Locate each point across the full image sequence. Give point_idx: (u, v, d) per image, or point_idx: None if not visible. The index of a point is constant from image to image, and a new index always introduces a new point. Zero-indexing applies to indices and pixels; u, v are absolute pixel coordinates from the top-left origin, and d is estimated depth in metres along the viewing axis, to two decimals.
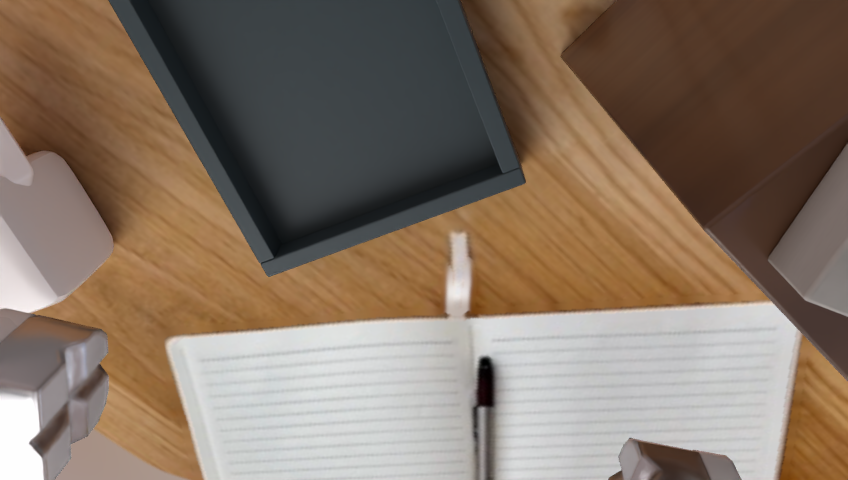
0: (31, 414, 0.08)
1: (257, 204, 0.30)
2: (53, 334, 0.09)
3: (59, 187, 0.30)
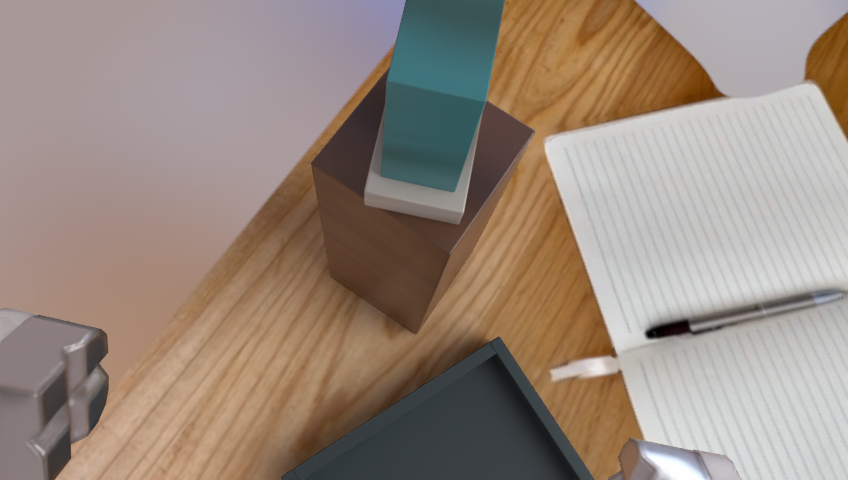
0: (31, 414, 0.08)
1: None
2: (53, 334, 0.09)
3: None
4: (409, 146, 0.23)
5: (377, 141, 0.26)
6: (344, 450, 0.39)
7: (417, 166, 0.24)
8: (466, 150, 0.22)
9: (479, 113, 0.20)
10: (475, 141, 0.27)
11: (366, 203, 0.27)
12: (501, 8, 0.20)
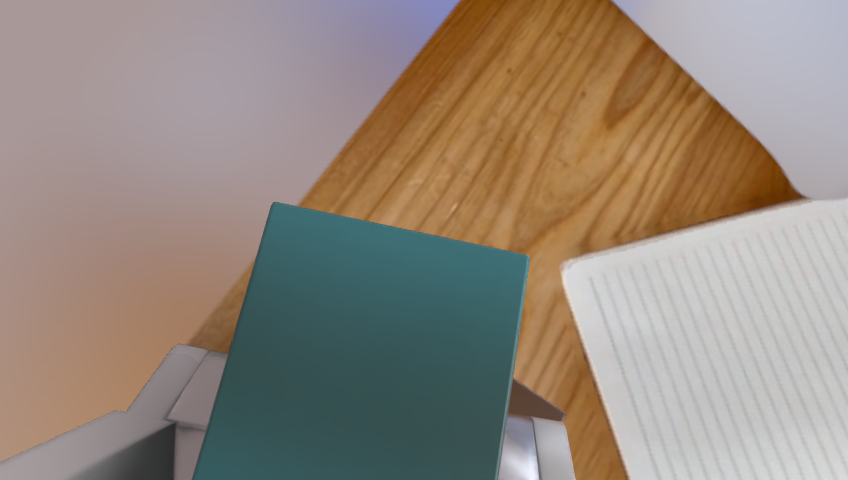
0: None
1: None
2: None
3: None
4: None
5: None
6: None
7: None
8: None
9: None
10: None
11: None
12: (504, 398, 0.07)
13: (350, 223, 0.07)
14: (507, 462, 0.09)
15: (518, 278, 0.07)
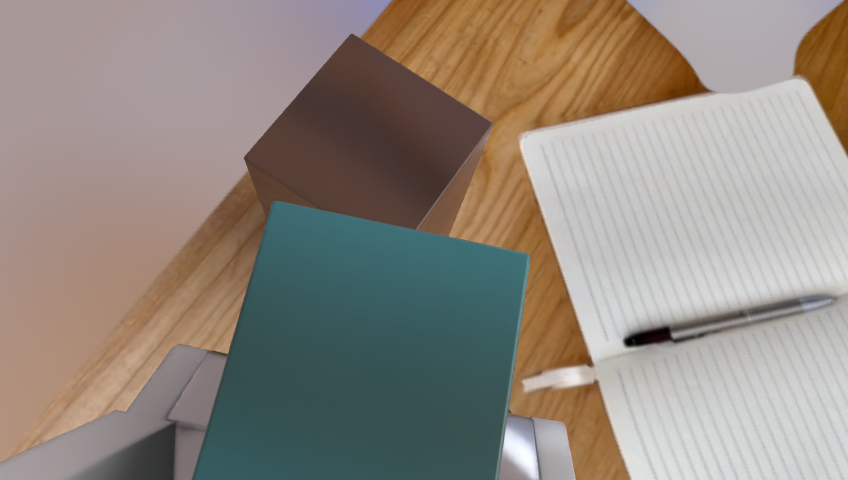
0: None
1: None
2: None
3: None
4: None
5: None
6: None
7: None
8: None
9: None
10: None
11: None
12: (505, 396, 0.07)
13: (350, 222, 0.07)
14: (508, 462, 0.09)
15: (519, 277, 0.07)
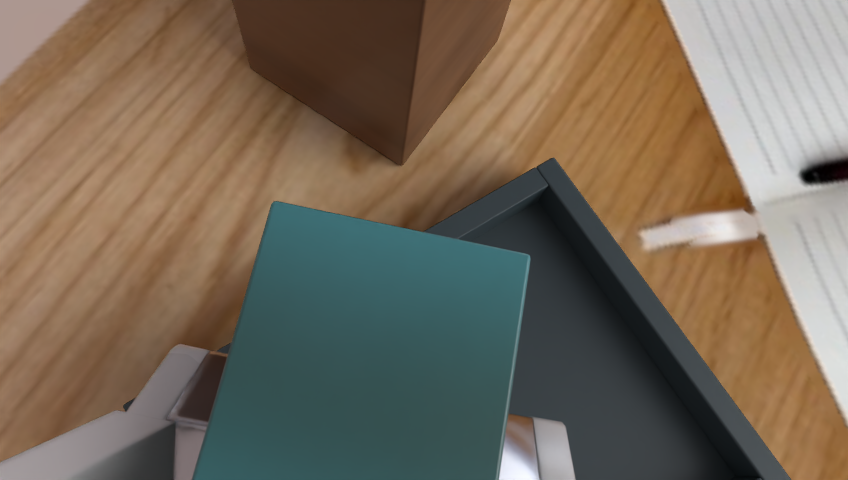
0: None
1: None
2: None
3: None
4: None
5: None
6: None
7: None
8: None
9: None
10: None
11: None
12: (505, 397, 0.07)
13: (350, 222, 0.07)
14: (507, 462, 0.09)
15: (519, 277, 0.07)
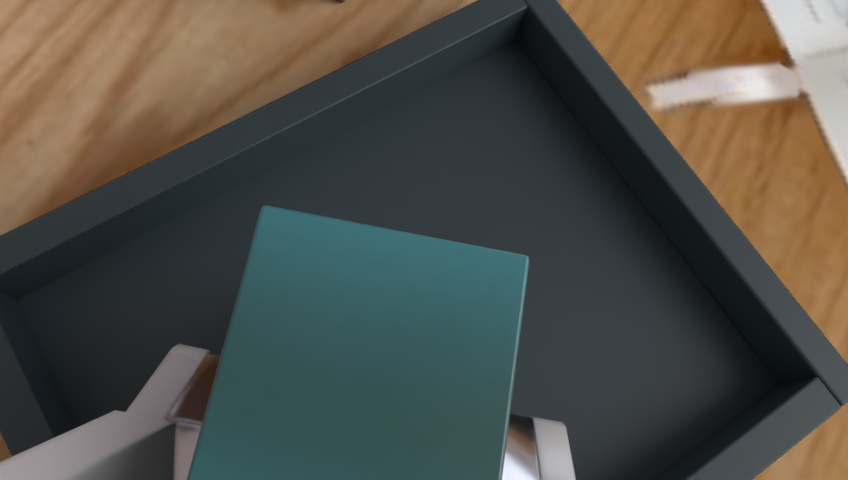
0: None
1: (713, 437, 0.15)
2: None
3: None
4: None
5: None
6: (120, 208, 0.14)
7: None
8: None
9: None
10: None
11: None
12: (506, 404, 0.07)
13: (343, 226, 0.07)
14: (508, 462, 0.09)
15: (517, 279, 0.07)
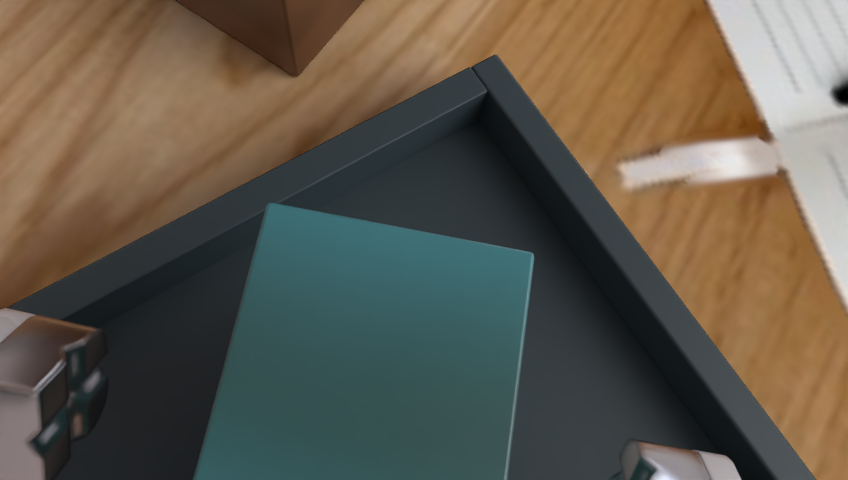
0: (31, 414, 0.08)
1: None
2: (53, 334, 0.09)
3: None
4: None
5: None
6: None
7: None
8: None
9: None
10: None
11: None
12: (512, 400, 0.07)
13: (348, 223, 0.07)
14: None
15: (523, 276, 0.07)
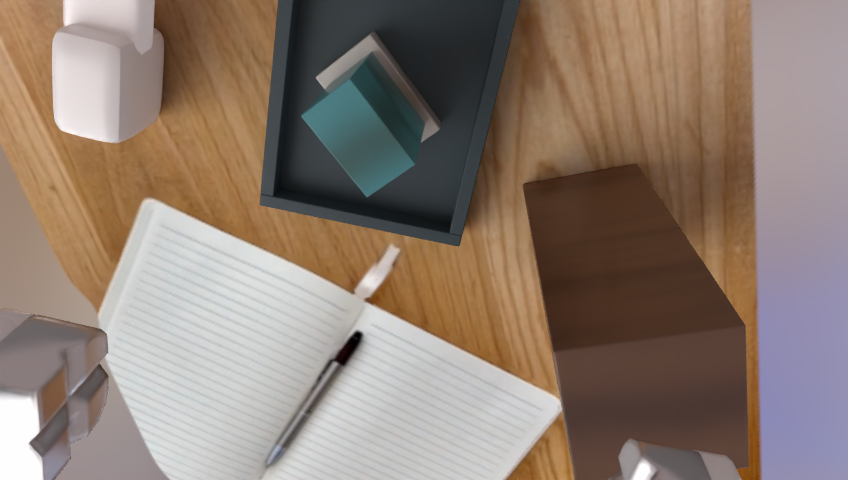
0: (31, 414, 0.08)
1: (282, 154, 0.40)
2: (53, 334, 0.09)
3: (154, 62, 0.38)
4: (348, 73, 0.34)
5: (394, 68, 0.37)
6: (493, 55, 0.36)
7: (347, 72, 0.35)
8: (317, 98, 0.34)
9: None
10: None
11: (371, 32, 0.37)
12: (346, 171, 0.32)
13: (399, 173, 0.32)
14: None
15: (364, 191, 0.32)
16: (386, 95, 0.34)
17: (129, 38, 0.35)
